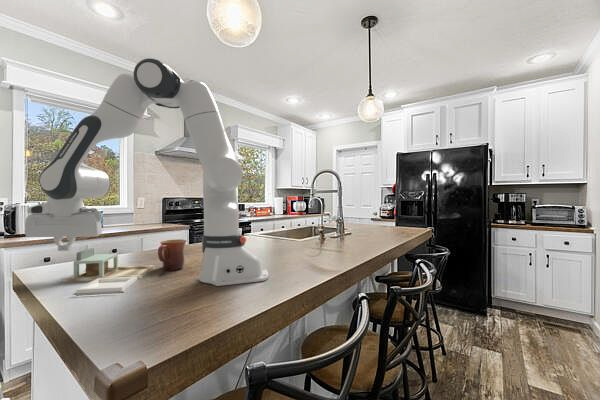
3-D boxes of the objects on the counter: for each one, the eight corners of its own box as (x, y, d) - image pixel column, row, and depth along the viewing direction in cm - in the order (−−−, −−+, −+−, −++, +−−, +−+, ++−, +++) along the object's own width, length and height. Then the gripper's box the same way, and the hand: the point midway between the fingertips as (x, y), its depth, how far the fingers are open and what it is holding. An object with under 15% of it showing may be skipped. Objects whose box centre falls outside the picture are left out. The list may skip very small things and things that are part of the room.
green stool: (118, 269, 98) (118, 246, 98) (102, 278, 88) (102, 252, 88) (92, 270, 97) (92, 247, 97) (73, 279, 86) (73, 253, 86)
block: (108, 272, 95) (108, 259, 95) (101, 276, 90) (101, 262, 90) (93, 273, 94) (93, 260, 94) (85, 276, 90) (85, 263, 90)
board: (154, 269, 102) (154, 265, 102) (140, 280, 88) (140, 275, 88) (86, 272, 98) (86, 268, 98) (61, 283, 84) (61, 279, 84)
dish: (137, 281, 87) (137, 276, 87) (122, 293, 76) (122, 287, 76) (97, 283, 85) (97, 278, 85) (76, 295, 74) (76, 289, 74)
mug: (170, 265, 108) (170, 239, 108) (191, 266, 106) (191, 239, 106) (148, 273, 96) (148, 243, 96) (170, 274, 95) (170, 244, 95)
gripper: (105, 208, 95) (105, 248, 95) (36, 207, 91) (35, 249, 91) (96, 208, 89) (95, 251, 89) (21, 208, 85) (20, 253, 85)
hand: (64, 250), depth 90 cm, fingers closed
